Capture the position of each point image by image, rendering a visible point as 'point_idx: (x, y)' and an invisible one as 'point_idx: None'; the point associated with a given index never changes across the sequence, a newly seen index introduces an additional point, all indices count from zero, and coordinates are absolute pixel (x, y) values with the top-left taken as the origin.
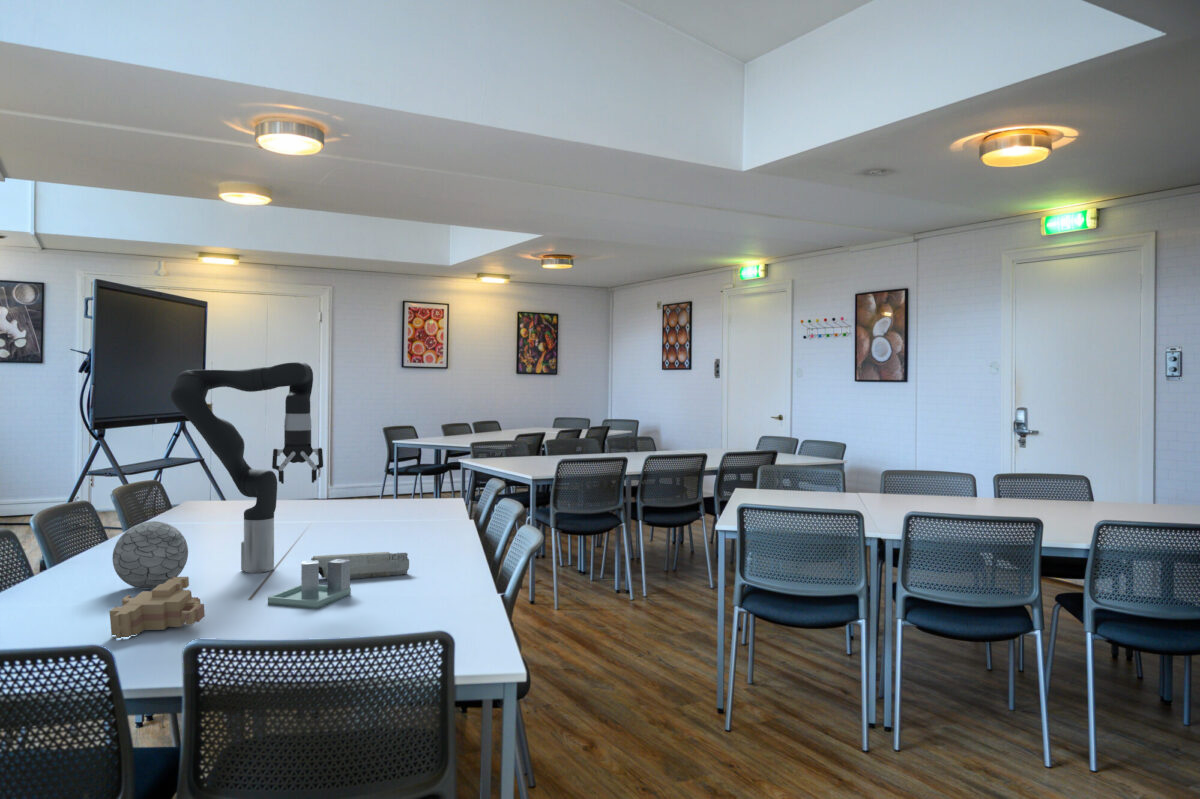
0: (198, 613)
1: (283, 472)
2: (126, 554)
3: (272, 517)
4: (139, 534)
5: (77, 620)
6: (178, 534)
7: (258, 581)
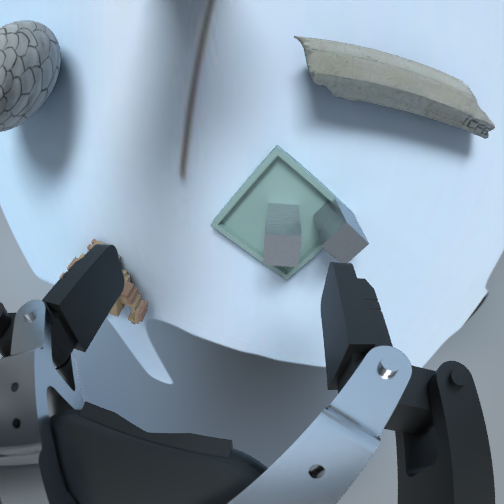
0: (143, 317)
1: (88, 345)
2: None
3: None
4: None
5: (31, 213)
6: (4, 76)
7: (190, 40)
